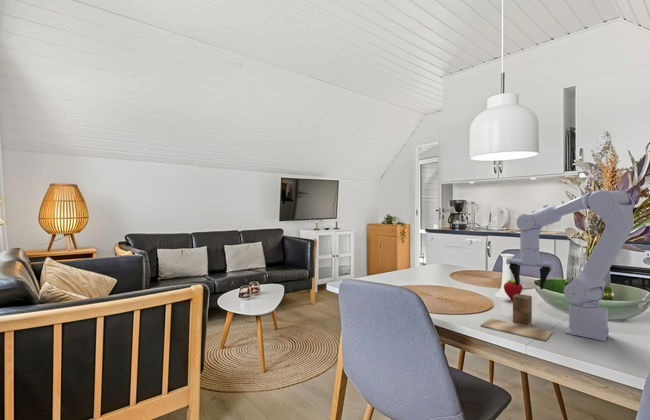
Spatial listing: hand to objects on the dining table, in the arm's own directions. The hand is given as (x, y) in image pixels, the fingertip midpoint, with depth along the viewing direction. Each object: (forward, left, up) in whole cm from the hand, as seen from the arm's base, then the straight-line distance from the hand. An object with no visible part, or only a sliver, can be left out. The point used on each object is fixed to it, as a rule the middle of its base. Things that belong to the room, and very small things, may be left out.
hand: (529, 286), depth 119 cm
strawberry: (+10, -18, -11) cm, 23 cm away
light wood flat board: (0, +17, -10) cm, 20 cm away
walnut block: (0, +10, -10) cm, 14 cm away
